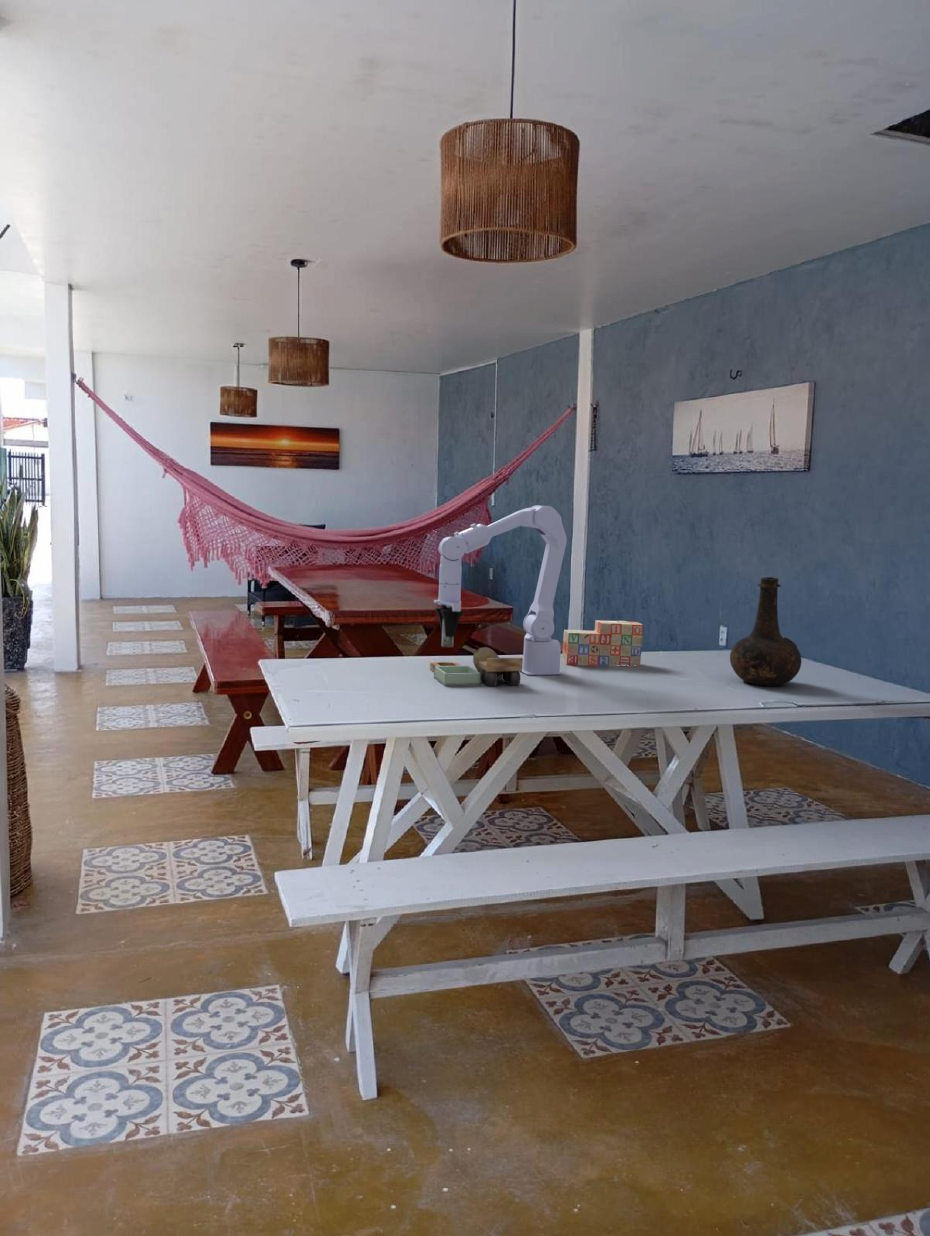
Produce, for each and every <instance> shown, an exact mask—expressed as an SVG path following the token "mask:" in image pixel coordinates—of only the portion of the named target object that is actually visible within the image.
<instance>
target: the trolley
mask: <svg viewBox="0 0 930 1236" xmlns="http://www.w3.org/2000/svg"><path fill="white" fill-rule="evenodd" d="M479 667H481V669H480V673H481V679H480V683H482V684H483V683H485V685H486V687H489V686H490V687H493V686H494V687H495V686H496V685H497V683H498V677H497V673H496V671H503V672H502V675H501V677H502V681H503V682H504V683H508V685H509V686H519V685H520V683H521V671H522V668H523V657H499V658H487V661H483V662H479Z"/></svg>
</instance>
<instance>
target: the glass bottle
mask: <svg viewBox="0 0 930 1236" xmlns="http://www.w3.org/2000/svg"><path fill="white" fill-rule="evenodd" d="M757 587H759V588H760V589H759V596H758V597H759V598H758V604H757V611H756V617H755V620H754V624H753V628H752V631H751V633H750V634H749V635H748V636H745V637H743V638H741V639H739V640H738V641H737V642H736V643H734V645H733V646H732V648H731V650H730V652H729V662H730V666H731V668H732V669H733V672H734V673H735V674H736V675H737V676H738V677H739V679H741V680H742V681H744V682H745V683H748V684H751V683H752V685H756V684H757V685H758V686H764V685H765V686H767V687H775V686H776V687H779V686H782V685H785V684H787V683H789V682H791V681H792V680H793V679H795V677H796V676H797V675H798V673H799V672H800V670H801V667H802V656H801V652H800V650H799V649H798V646H797V644H796V643H795V642H793V640H791V639H790V638H788V637H783V636H782V633H781V631H780V625H779V619H778V588H781V587H782V585H781V584H779V578H777V577H772V576H771V577H770V576H769V577H768V576H766V577H761V578H760V583H758V584H757Z"/></svg>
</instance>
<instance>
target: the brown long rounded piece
mask: <svg viewBox="0 0 930 1236" xmlns="http://www.w3.org/2000/svg"><path fill="white" fill-rule="evenodd" d="M472 657H473V658H472V661H473V665H474V668H475V670H476V671H478V672H479V673H480V669H481V667H479V662H483V661H487V658H500V656H499V655H498V654H497V653H496V652H495V651H494V650H493V649H492V648H490V647H487V646H484V647H479V648H478V649H476V651H475V652H474V654H473V656H472ZM502 672H503V671H496V673H497V678H500V677H502Z"/></svg>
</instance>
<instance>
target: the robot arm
mask: <svg viewBox="0 0 930 1236" xmlns="http://www.w3.org/2000/svg"><path fill="white" fill-rule="evenodd" d="M469 526H470V527H469V528H467V529H464V530H462V531H460V532H459V531H455V532H454V533H453V535H454V536H446V537H444V538H442V540H441V541H440V542H439V545H438V546H437V549H438V553H439V554H440V559H439V563H440V564H439V572H438V573H439V574H438V575H439V576H438V597H437V599H434V600H433V603H434V604H437V605H439V606H440V607H435V608H434V609H435V611H436V614H437V616H438V620H439V626H440V632H441V633H442V621H443V620H444V628H445V635H446V637H453V638H454V637H455V635H456V631H457V627H458V624H459V621H460V619H461V617H462V615H463V614H464V611H463V610H462V601H461V595H462V594H461V593H462V569H463V567H462V558H463V557H464V555H465V554H469V553H471V552H473V551H476V550H478V549H481V548H483V547H485V546H487V545H489V543H490V542H491V539H492V538H493V537H496V536H499V535H500V534H504V533H506V532H508V531H510V530H514V529H515V528H518V527H525V528H526V527H528V528H532V529H533V530H534V531H536V532H538V534H539V535H540V536H541V538H542V539H543V541H544V542H545V548H544V553H543V556H542V557H543V558H542V562H541V565H540V571H539V575H538V580H537V584H536V588H535V589H536V590H535V593H534V597H533V601H532V603H531V605H530V607H529V610H528V613H527V614H526V616H524V619H523V622H522V627H523V630H524V632H526V634H525V635H524V637H523V655H522V656H523V657H522V658H523V664H522V671H520V673H521V672H522V673H523V674H525V675H527V676H535V675H537V676H540V675H541V676H542V675H561V673H562V672H560V669H561V655H562V654H561V651H562V650H561V649H562V647H561V643H560V641H559V640H558V639H553V638H552V636H553V635H554V632H555V623H554V617H555V616H554V615H555V612H554V601H555V597H556V592H557V587H558V582H559V580H560V579H559V578H560V574H561V569H562V565H563V560H564V556H565V552H566V551H565V550H566V548H567V547H566V546H567V542H568V541H567V540H568V538H567V534H566V532H565V528H564V526H563V521H562V516H561V515H560V514H559V512H558V511H557V510H556V509H555V508H554V507H552V506H551V505H541V504H535V505H533V506H531V507H527V508H523V509H520V510H517V511H515V512H513V513H510V514H509V515H506V516H504V517H502V518H501V519H499V520H497V521H495V522H492V523H490V524H489V525H485V524H482V523H478V524H477V523H472V524H470V525H469Z"/></svg>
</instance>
